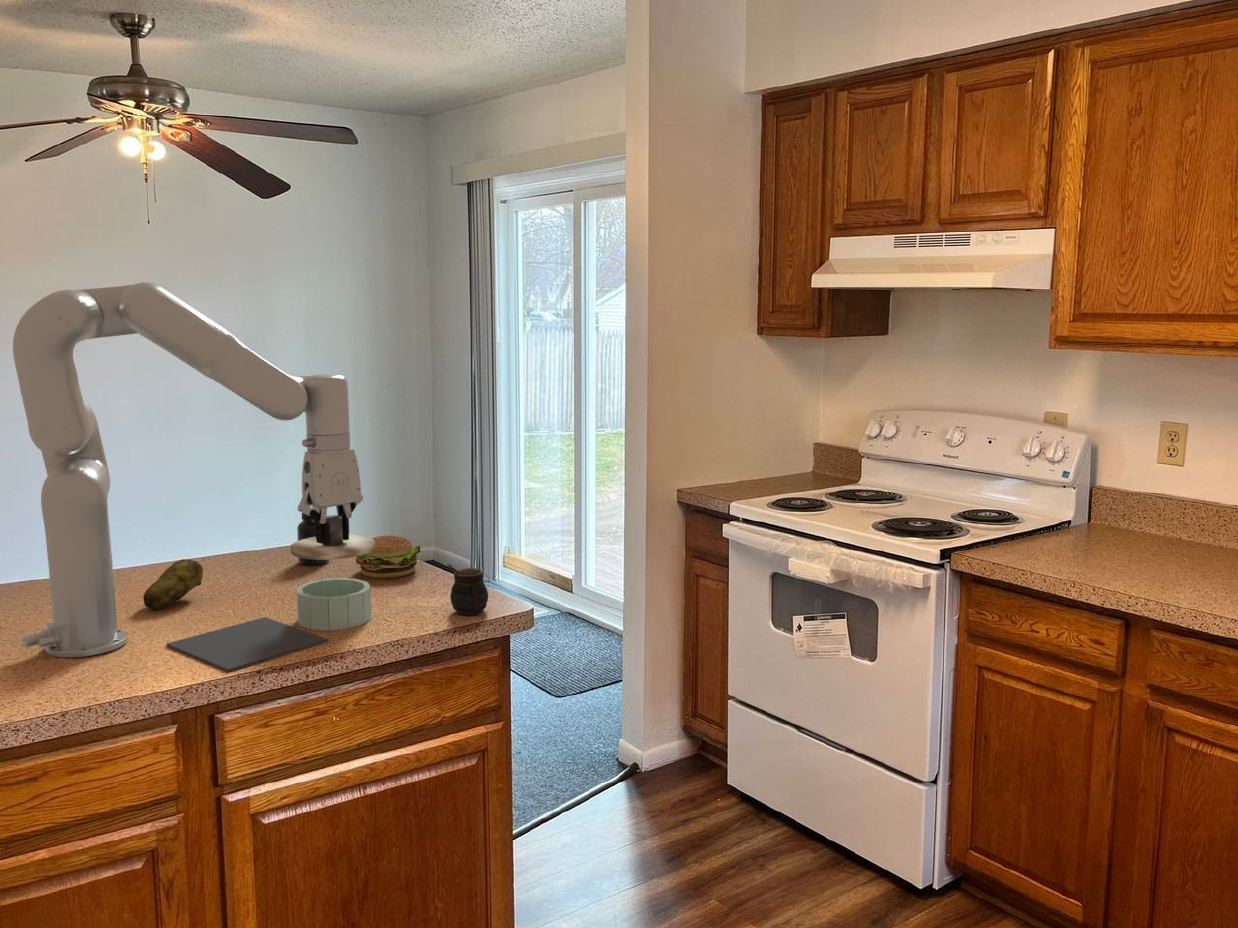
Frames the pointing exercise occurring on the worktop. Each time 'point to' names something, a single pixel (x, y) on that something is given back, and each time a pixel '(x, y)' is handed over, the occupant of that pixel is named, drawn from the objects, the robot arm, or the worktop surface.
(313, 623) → the bowl
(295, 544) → the lid
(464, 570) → the mate gourd
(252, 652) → the mat
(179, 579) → the potato
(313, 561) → the supplement bottle
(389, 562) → the food
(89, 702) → the worktop surface
